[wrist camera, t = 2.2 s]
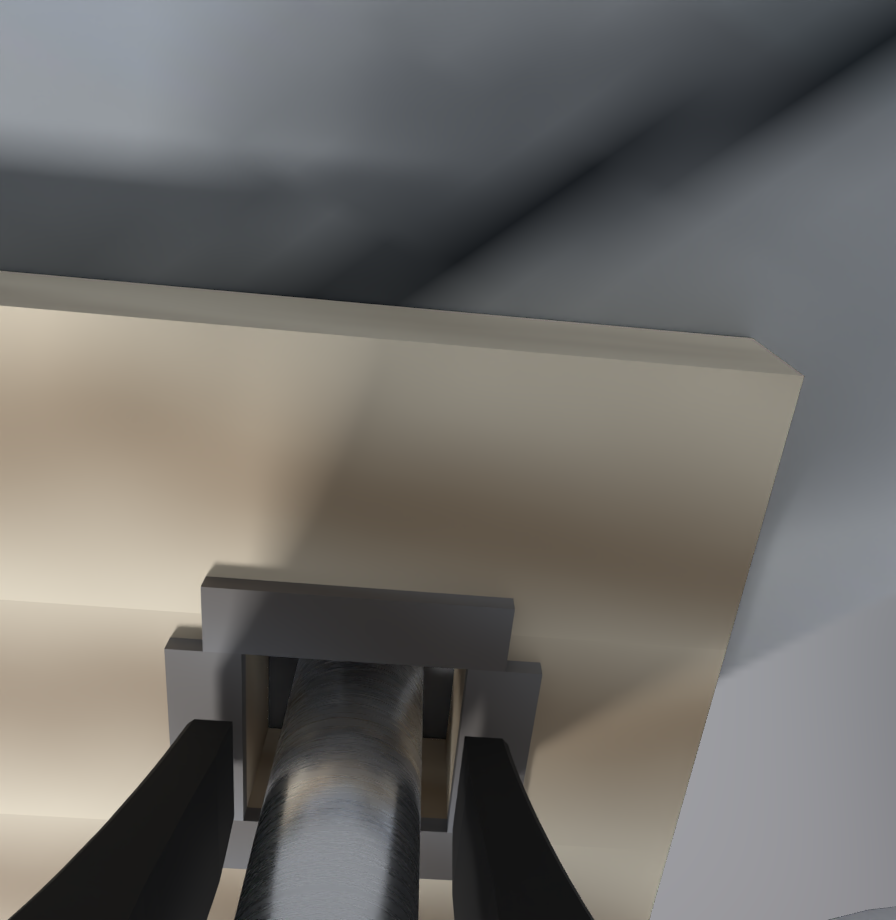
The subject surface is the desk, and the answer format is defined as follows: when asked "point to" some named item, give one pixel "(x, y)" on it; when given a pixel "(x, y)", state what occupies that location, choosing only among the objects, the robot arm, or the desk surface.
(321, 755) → the steel pin
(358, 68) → the desk surface
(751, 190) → the desk surface
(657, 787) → the dock board
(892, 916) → the mechanical component
